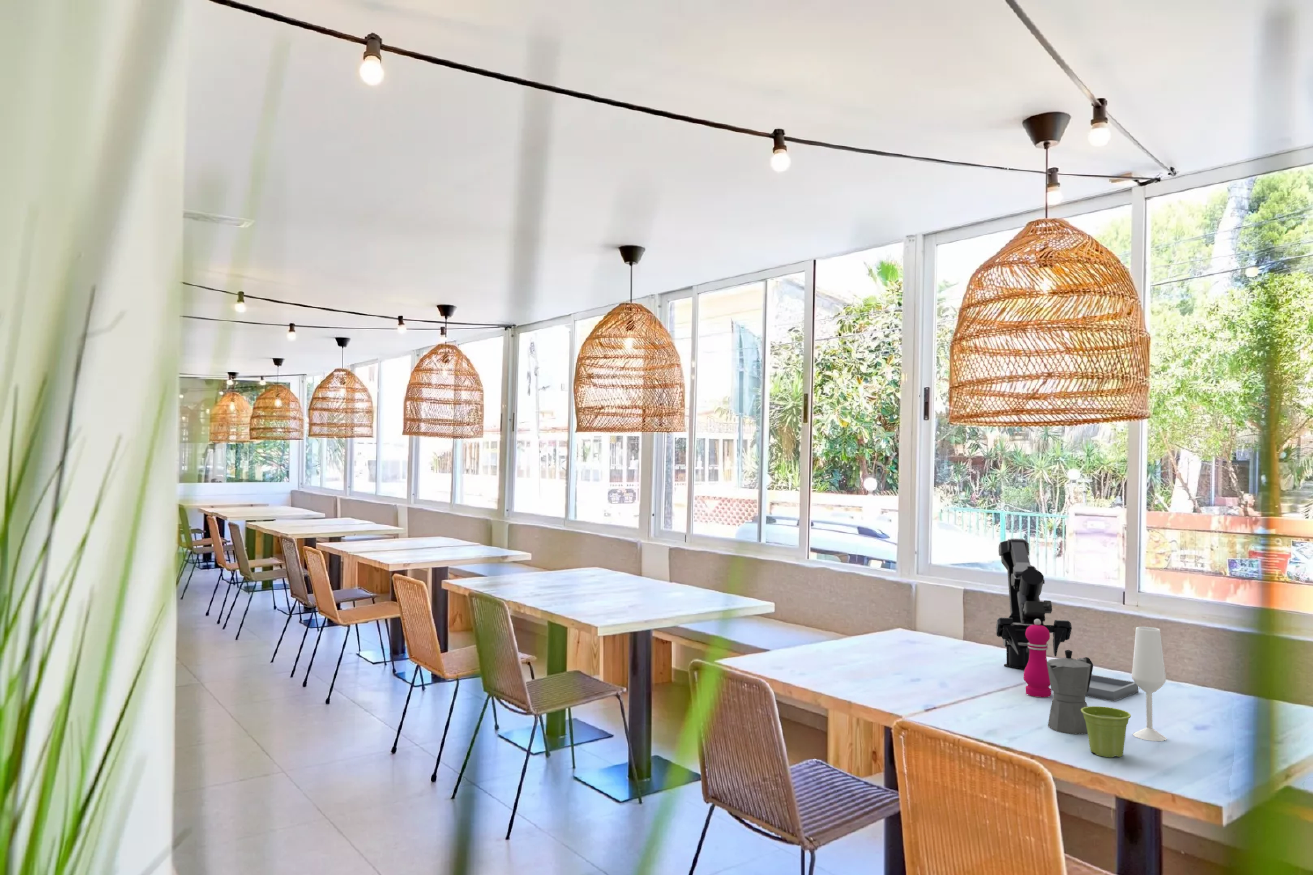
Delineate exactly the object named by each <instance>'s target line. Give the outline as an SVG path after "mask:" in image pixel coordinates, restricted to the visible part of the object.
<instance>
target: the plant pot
mask: <svg viewBox="0 0 1313 875" xmlns="http://www.w3.org/2000/svg"><path fill="white" fill-rule="evenodd" d="M1081 712H1082V713H1083V716H1084V719H1085V721H1086V727H1087V732H1088V733H1087V738H1088V743H1089V751H1090V752H1091V753H1094V754H1095V755H1096V756H1099V757H1104V758H1114V757H1118V758H1121V757H1123V755H1124V748H1125V740H1126V732H1127V726H1128V723H1129V719H1130V718H1131V717H1132V714H1131V713H1130V712H1128V711H1126V710H1124V709H1119V708H1117V707H1108V706H1099V705H1097V706H1087V707H1084V708H1082V709H1081Z"/></svg>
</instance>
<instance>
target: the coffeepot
mask: <svg viewBox="0 0 1313 875" xmlns="http://www.w3.org/2000/svg"><path fill="white" fill-rule="evenodd" d="M1064 654H1065V657H1060V658H1059V657H1058V658H1051V659H1049V660H1047V667H1048V673H1049V679H1050V689H1051V692H1053V698H1052V699H1051V705H1050V710H1049V717H1048V722H1047V727H1048V728H1050V730H1053V731H1055V732H1059V733H1062V734H1067V735H1068V734H1069V735H1088V732H1087V727H1086V721H1085V719H1084V716H1083V713H1082V712H1081V709H1082V708H1084V707H1088V704H1087V702H1086V696H1085V694H1086V693H1087V692H1088V691H1089V685H1090V681H1091V675H1093V670H1094V664H1093V662H1092V660H1091V659H1090V658H1089V657H1078V658H1077V659H1076V658H1072V656H1073V651H1072V650H1070V649H1065V650H1064Z"/></svg>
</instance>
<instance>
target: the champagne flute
mask: <svg viewBox="0 0 1313 875" xmlns="http://www.w3.org/2000/svg"><path fill="white" fill-rule="evenodd" d="M1134 634H1135V635H1134V646H1133V647H1134V648H1133V657H1132V669H1131V678H1132V680H1133V682H1135V683H1136V684H1137V685H1138V688H1139V689H1140V690H1142V691H1143V692H1144V693H1145V710H1146V711H1145V713H1146V714H1145V715H1146V720H1145V722H1146V727H1144V728H1142V729H1140V730H1137V731H1136V732H1134V733H1132V736H1133V737H1135V738H1138V739H1141V740H1144V741H1150V742H1164V740H1165V741H1167V739H1168V738H1167V737H1166V736H1164V735H1163V734H1162V733H1160V732H1159V731H1158V730H1155V729H1154V728H1153V693H1155V692H1157V691H1158V690H1159V689H1161V688H1162V687H1163V686H1164V685H1165V683H1166V681H1167V676H1166V668H1165V661H1164V658H1165V657H1164V651H1163V642H1162V635H1161V628H1157V627H1153V626H1151V627H1150V626H1137V627H1135V633H1134Z"/></svg>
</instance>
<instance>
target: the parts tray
mask: <svg viewBox="0 0 1313 875" xmlns="http://www.w3.org/2000/svg"><path fill="white" fill-rule="evenodd" d="M1137 693H1139V686H1138V685H1137V684H1136V683H1135V682H1134V681H1131V680H1125V679H1119V678H1114V677H1108V676H1103V675H1098V674H1097V675H1095V674H1092V675H1091V681H1090V685H1089V691H1088V692H1087V693H1086V694H1085V697H1088V698H1094V699H1099V700H1103V701H1109V702H1116V701H1118V700H1121V699H1124V698H1127V697H1130V696H1131V695H1134V694H1137Z"/></svg>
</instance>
